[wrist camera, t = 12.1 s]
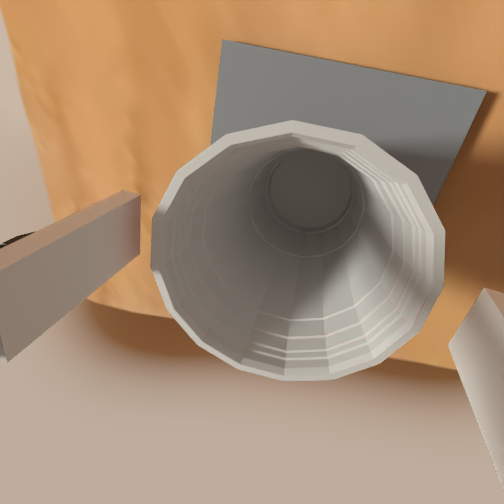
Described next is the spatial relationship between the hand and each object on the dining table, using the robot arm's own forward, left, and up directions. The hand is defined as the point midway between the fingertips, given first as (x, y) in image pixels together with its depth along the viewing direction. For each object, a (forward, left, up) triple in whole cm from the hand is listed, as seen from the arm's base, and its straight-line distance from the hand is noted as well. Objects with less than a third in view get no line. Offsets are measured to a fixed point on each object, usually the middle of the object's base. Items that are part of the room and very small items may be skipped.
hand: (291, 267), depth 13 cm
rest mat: (0, 0, -12) cm, 12 cm away
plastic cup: (0, 0, -11) cm, 11 cm away
